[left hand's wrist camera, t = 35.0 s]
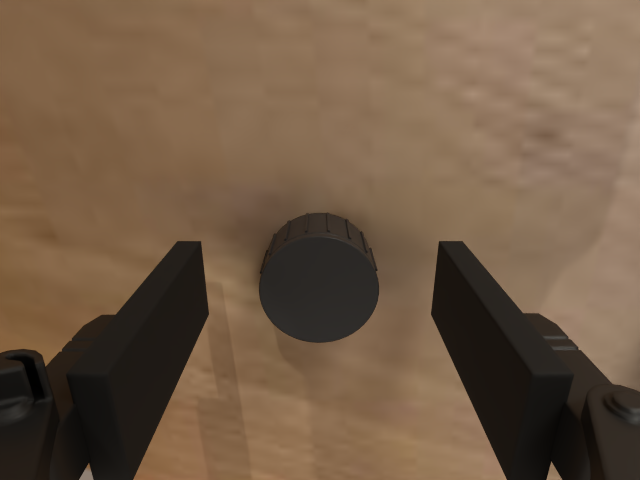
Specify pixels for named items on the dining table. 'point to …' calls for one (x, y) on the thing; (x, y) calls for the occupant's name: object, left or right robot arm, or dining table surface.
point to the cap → (319, 279)
